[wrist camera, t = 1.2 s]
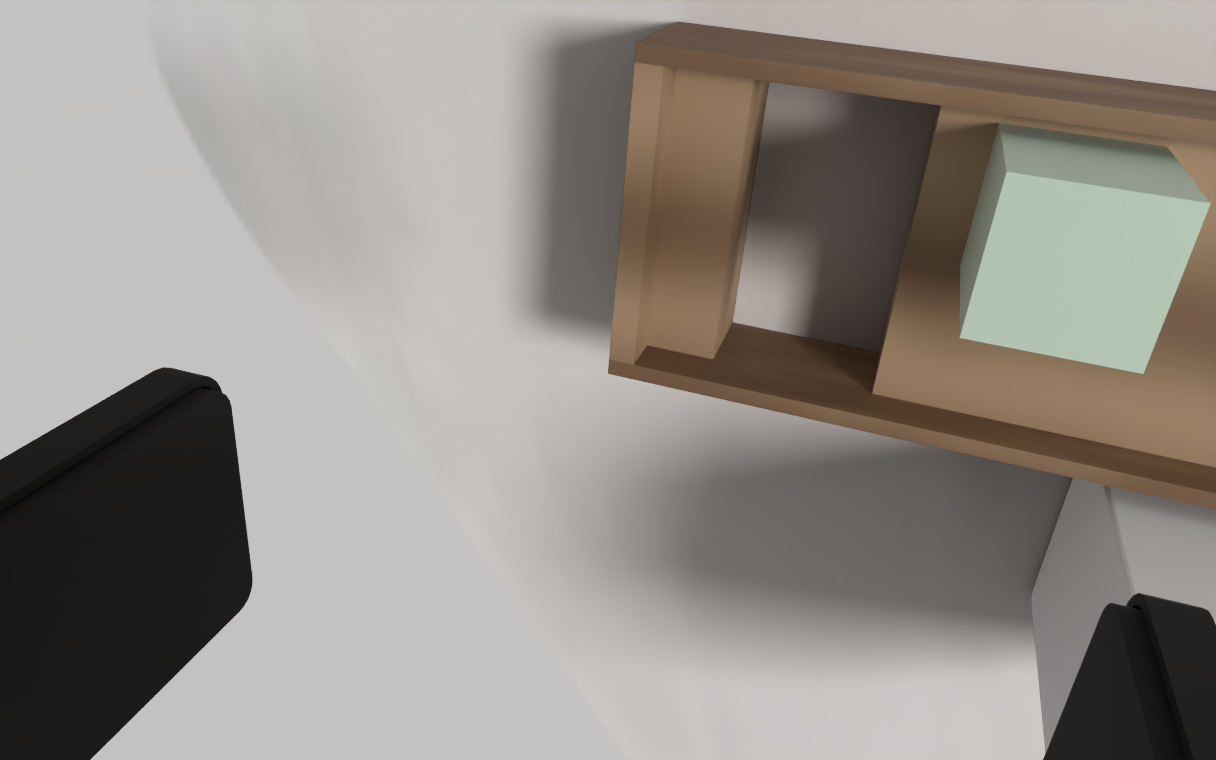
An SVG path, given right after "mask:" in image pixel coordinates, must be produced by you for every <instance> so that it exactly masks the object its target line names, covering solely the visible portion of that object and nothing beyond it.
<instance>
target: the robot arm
mask: <svg viewBox="0 0 1216 760" xmlns="http://www.w3.org/2000/svg"><path fill="white" fill-rule="evenodd" d="M251 587H252V570H251V563H250V554H249V546H248V538H247V530H246V522H245V513H244V506H243V498H242V489H241V481H240V473H239V465H238V457H237V448H236V440H235V432H234V424H233V416H232V408H231V404H230V400H229V399H228V397H227V396H226V395H225V394H223V393H222V391H221V388H220V386H219V385H218V383H217V382H216V381H215V380H213V379H212V378H210V377H208V376H203V375H199V374H194V373H190V372H186V371H182V370H177V369H173V368H161V369H157V370H155V371H153V372H151V373H149V374H148V375H146V376H144V377H143V378H141V379H139V380H137V381H136V382H134V383H132V384H130V385H129V386H127V387H125V388H124V389H122V390H120V391H118V392H117V393H115V394H113V395H111V396H110V397H108V398H106V399H105V400H103V401H101V402H99V403H98V404H96V405H94V406H93V407H91V408H89V409H87V410H86V411H84V412H82V413H80V414H79V415H77V416H75V417H74V418H72V419H70V420H68V421H67V422H65V423H63V424H61V425H60V426H58V427H56V428H55V429H53V430H51V431H49V432H48V433H46V434H44V435H42V436H41V437H39V438H38V439H35V440H34V441H32V442H31V443H29V444H27V445H25V446H23V447H22V448H20V449H18V450H16V451H15V452H13V453H12V454H10V455H8V456H6V457H4V458H3V459H1V460H0V760H90V759H91V758H92V757H93V756H94V755H95V754H96V753H97V752H98V751H99V750H100V749H101V748H102V747H103V746H104V745H105V744H106V743H107V742H108V741H110V739H112V738H113V737H114V736H115V734H117V732H119V731H120V730H121V728H123V727H124V726H125V725H126V724H127V723H128V722H129V721H130V720H131V719H132V718H133V717H134V716H135V715H136V714H137V713H138V712H139V711H140V710H141V709H142V708H143V707H144V706H145V705H146V704H147V703H148V702H149V701H150V700H151V699H152V698H153V697H154V696H155V695H156V694H157V693H158V692H159V691H160V690H161V689H162V688H163V687H164V686H165V685H166V684H167V683H168V682H169V681H170V680H171V679H172V678H173V677H174V676H175V675H176V674H177V673H178V672H179V671H180V670H181V669H182V668H183V667H184V666H185V665H186V664H187V663H188V662H189V661H190V660H191V659H192V658H193V657H194V656H195V655H196V654H197V653H198V652H199V651H200V650H201V649H202V648H203V647H204V646H205V645H206V644H207V643H208V642H209V641H210V640H211V639H212V638H213V637H214V636H215V635H216V634H217V633H218V632H219V631H220V630H221V629H222V628H223V627H224V626H225V625H226V624H227V623H228V622H229V621H230V620H231V619H232V618H233V617H234V616H235V615H236V614H237V613H239V611H240V610H241V609H242V608H243V606H244V605H245V603H246V602H247V600H248V598H249V595H250V592H251ZM1043 760H1216V624H1215V621H1214V619H1213V617H1212V615H1211V614H1210V612H1209V611H1208V610H1206V609H1204V608H1201V607H1197V606H1193V605H1189V604H1184V603H1180V602H1176V601H1171V600H1167V599H1163V598H1158V597H1154V596H1150V595H1146V594H1141V593H1137V594H1135V595H1133V596H1132V597H1131V599H1130V600H1129V601H1128V603H1127V605H1126V606H1123V605H1119V604H1114V603H1109V604H1107V606H1106V607H1105V608H1104V610H1103V612H1102V614H1101V616H1100V618H1099V621H1098V623H1097V626H1096V628H1095V631H1094V633H1093V636H1092V638H1091V641H1090V643H1089V646H1088V648H1087V651H1086V653H1085V656H1084V658H1083V661H1082V663H1081V666H1080V668H1079V671H1078V673H1077V676H1076V679H1075V681H1074V684H1073V686H1072V689H1071V691H1070V694H1069V696H1068V699H1067V701H1066V704H1065V706H1064V709H1063V711H1062V714H1061V716H1060V719H1059V721H1058V724H1057V726H1056V729H1055V731H1054V734H1053V736H1052V739H1051V741H1050V744H1049V746H1048V749H1047V751H1046V754H1045V756H1044V759H1043Z"/></svg>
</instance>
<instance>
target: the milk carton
mask: <svg viewBox="0 0 1216 760" xmlns="http://www.w3.org/2000/svg"><path fill="white" fill-rule="evenodd" d="M1137 593H1141V594H1146V595H1150V596H1154V597H1158V598H1163V599H1167V600H1171V601H1176V602H1180V603H1184V604H1189V605H1193V606H1197V607H1201V608H1204V609H1206V610H1208V611H1209V612H1210V614H1211V615H1212V617H1213V619H1214V621H1215V624H1216V510H1213V509H1209V508H1204V507H1200V506H1195V505H1191V504H1187V503H1182V502H1178V501H1173V500H1169V499H1164V498H1160V497H1155V496H1151V495H1147V494H1142V493H1138V492H1133V491H1129V490H1124V489H1120V488H1115V487H1111V486H1106V485H1102V484H1098V483H1093V482H1089V481H1084V480H1080V479H1075V478H1073V479H1072V482H1071V485H1070V488H1069V490H1068V493H1067V496H1066V499H1065V502H1064V504H1063V507H1062V510H1061V513H1060V515H1059V518H1058V521H1057V524H1056V527H1055V529H1054V532H1053V535H1052V538H1051V541H1050V543H1049V546H1048V549H1047V552H1046V555H1045V557H1044V560H1043V563H1042V566H1041V568H1040V571H1039V574H1038V577H1037V580H1036V583H1035V585H1034V588H1033V592H1032V596H1031V605H1032V616H1033V626H1034V637H1035V647H1036V658H1037V669H1038V679H1039V690H1040V700H1041V711H1042V721H1043V732H1044V742H1045V753H1046V751H1047V749H1048V746H1049V744H1050V741H1051V739H1052V736H1053V734H1054V731H1055V729H1056V726H1057V724H1058V721H1059V719H1060V716H1061V714H1062V711H1063V709H1064V706H1065V704H1066V701H1067V699H1068V696H1069V694H1070V691H1071V689H1072V686H1073V684H1074V681H1075V679H1076V676H1077V673H1078V671H1079V668H1080V666H1081V663H1082V661H1083V658H1084V656H1085V653H1086V651H1087V648H1088V646H1089V643H1090V641H1091V638H1092V636H1093V633H1094V631H1095V628H1096V626H1097V623H1098V621H1099V618H1100V616H1101V614H1102V612H1103V610H1104V608H1105V607H1106V606H1107V604H1109V603H1114V604H1119V605H1123V606H1126V605H1127V603H1128V601H1129V600H1130V599H1131V597H1132V596H1133V595H1135V594H1137Z"/></svg>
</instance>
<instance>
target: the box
mask: <svg viewBox="0 0 1216 760" xmlns="http://www.w3.org/2000/svg"><path fill="white" fill-rule="evenodd" d="M769 81H770V82H777V83H784V84H791V85H798V86H806V87H813V88H820V89H827V90H834V91H841V92H848V93H855V94H862V95H869V96H876V97H884V98H891V99H898V100H905V101H912V102H919V103H926V104H933V105H939V106H938V110H937V114H936V119H935V123H934V127H933V131H932V135H931V139H930V144H929V148H928V152H927V156H926V160H925V164H924V169H923V173H922V177H921V181H920V185H919V190H918V194H917V198H916V202H915V206H914V210H913V215H912V219H911V223H910V227H909V231H908V235H907V240H906V244H905V248H904V252H903V256H902V260H901V265H900V269H899V273H898V277H897V281H896V286H895V290H894V294H893V298H892V302H891V306H890V311H889V315H888V319H887V323H886V327H885V331H884V336H883V340H882V344H881V348H880V352H879V353H878V352H873V351H868V350H863V349H858V348H853V347H848V346H844V345H839V344H834V343H829V342H824V341H819V340H814V339H809V338H804V337H799V336H795V335H790V334H785V333H780V332H775V331H770V330H765V329H760V328H755V327H751V326H746V325H741V324H736V323H732V321H733V315H734V308H735V302H736V295H737V289H738V282H739V276H740V269H741V262H742V256H743V249H744V243H745V236H746V230H747V223H748V217H749V210H750V204H751V197H752V191H753V184H754V177H755V171H756V164H757V158H758V151H759V145H760V138H761V132H762V125H763V119H764V112H765V106H766V99H767V92H768V86H769ZM999 122H1000V123H1007V124H1014V125H1021V126H1028V127H1035V128H1042V129H1049V130H1056V131H1063V132H1070V133H1077V134H1084V135H1091V136H1098V137H1105V138H1112V139H1119V140H1126V141H1133V142H1140V143H1147V144H1154V145H1161V146H1167V147H1168V148H1169V150H1170V151H1171V152H1172V154H1173V155H1174V156H1175V157H1176V159H1177V160H1178V161H1179V163H1180V164H1181V165H1182V167H1183V168H1184V169H1185V170H1186V172H1187V173H1188V174H1189V176H1190V177H1191V178H1192V180H1193V181H1194V182H1195V183H1196V185H1197V186H1198V187H1199V189H1200V190H1201V191H1202V193H1203V194H1204V195H1205V196H1206V198H1207V199H1208V200H1209V202H1210V203H1211V204H1210V207H1209V209H1208V212H1207V214H1206V217H1205V219H1204V222H1203V224H1202V227H1201V229H1200V232H1199V234H1198V237H1197V240H1196V242H1195V245H1194V247H1193V250H1192V252H1191V255H1190V257H1189V260H1188V262H1187V265H1186V267H1185V270H1184V272H1183V275H1182V278H1181V280H1180V283H1179V285H1178V288H1177V290H1176V293H1175V295H1174V298H1173V300H1172V303H1171V305H1170V308H1169V310H1168V313H1167V315H1166V318H1165V321H1164V323H1163V326H1162V328H1161V331H1160V333H1159V336H1158V338H1157V341H1156V343H1155V346H1154V348H1153V351H1152V353H1151V356H1150V359H1149V361H1148V364H1147V366H1146V369H1145V371H1144V374H1141V373H1135V372H1130V371H1125V370H1120V369H1115V368H1110V367H1105V366H1100V365H1095V364H1090V363H1085V362H1080V361H1074V360H1069V359H1064V358H1059V357H1054V356H1049V355H1044V354H1039V353H1034V352H1029V351H1024V350H1019V349H1014V348H1008V347H1003V346H998V345H993V344H988V343H983V342H978V341H973V340H968V339H963V338H960V265H961V261H962V257H963V254H964V250H965V246H966V242H967V239H968V235H969V231H970V228H971V224H972V220H973V217H974V213H975V209H976V206H977V202H978V198H979V195H980V191H981V187H982V184H983V180H984V176H985V173H986V169H987V165H988V162H989V158H990V154H991V151H992V147H993V143H994V140H995V136H996V132H997V129H998V125H999ZM608 374H612V375H617V376H621V377H626V378H630V379H635V380H639V381H644V382H648V383H652V384H657V385H661V386H666V387H670V388H675V389H679V390H684V391H688V392H692V393H697V394H701V395H706V396H710V397H715V398H719V399H724V400H728V401H733V402H737V403H741V404H746V405H750V406H755V407H759V408H764V409H768V410H773V411H777V412H782V413H786V414H790V415H795V416H799V417H804V418H808V419H813V420H817V421H822V422H826V423H830V424H835V425H839V426H844V427H848V428H853V429H857V430H862V431H866V432H871V433H875V434H879V435H884V436H888V437H893V438H897V439H902V440H906V441H911V442H915V443H919V444H924V445H928V446H933V447H937V448H942V449H946V450H951V451H955V452H960V453H964V454H968V455H973V456H977V457H982V458H986V459H991V460H995V461H1000V462H1004V463H1009V464H1013V465H1017V466H1022V467H1026V468H1031V469H1035V470H1040V471H1044V472H1049V473H1053V474H1057V475H1062V476H1066V477H1071V478H1075V479H1080V480H1084V481H1089V482H1093V483H1098V484H1102V485H1106V486H1111V487H1115V488H1120V489H1124V490H1129V491H1133V492H1138V493H1142V494H1147V495H1151V496H1155V497H1160V498H1164V499H1169V500H1173V501H1178V502H1182V503H1187V504H1191V505H1195V506H1200V507H1204V508H1209V509H1213V510H1216V91H1211V90H1204V89H1196V88H1188V87H1180V86H1173V85H1165V84H1157V83H1149V82H1142V81H1134V80H1126V79H1118V78H1111V77H1103V76H1095V75H1087V74H1080V73H1072V72H1064V71H1056V70H1048V69H1041V68H1033V67H1025V66H1017V65H1010V64H1002V63H994V62H986V61H979V60H971V59H963V58H955V57H948V56H940V55H932V54H924V53H917V52H909V51H901V50H893V49H886V48H878V47H870V46H862V45H855V44H847V43H839V42H831V41H824V40H816V39H808V38H800V37H792V36H785V35H777V34H769V33H761V32H754V31H746V30H738V29H730V28H723V27H715V26H707V25H699V24H692V23H684V22H678V23H676V24H674V25H672V26H670V27H668V28H665V29H663V30H661V31H659V32H657V33H655V34H653V35H651V36H649V37H647V38H645V39H643V40H641V41H639V42H637V43H636V53H635V65H634V76H633V88H632V100H631V111H630V123H629V135H628V146H627V158H626V170H625V181H624V193H623V205H622V217H621V228H620V240H619V252H618V263H617V275H616V287H615V298H614V310H613V322H612V333H611V345H610V357H609V368H608Z"/></svg>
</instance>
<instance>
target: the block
mask: <svg viewBox="0 0 1216 760" xmlns="http://www.w3.org/2000/svg"><path fill="white" fill-rule="evenodd" d="M1210 204H1211V203H1210V202H1209V200H1208V199H1207V198H1206V196H1205V195H1204V194H1203V193H1202V191H1201V190H1200V189H1199V187H1198V186H1197V185H1196V183H1195V182H1194V181H1193V180H1192V178H1191V177H1190V176H1189V174H1188V173H1187V172H1186V170H1185V169H1184V168H1183V167H1182V165H1181V164H1180V163H1179V161H1178V160H1177V159H1176V157H1175V156H1174V155H1173V154H1172V152H1171V151H1170V150H1169V148H1168V147H1167V146H1161V145H1154V144H1147V143H1140V142H1133V141H1126V140H1119V139H1112V138H1105V137H1098V136H1091V135H1084V134H1077V133H1070V132H1063V131H1056V130H1049V129H1042V128H1035V127H1028V126H1021V125H1014V124H1007V123H1000V122H999V125H998V129H997V132H996V136H995V140H994V143H993V147H992V151H991V154H990V158H989V162H988V165H987V169H986V173H985V176H984V180H983V184H982V187H981V191H980V195H979V198H978V202H977V206H976V209H975V213H974V217H973V220H972V224H971V228H970V231H969V235H968V239H967V242H966V246H965V250H964V254H963V257H962V261H961V265H960V338H963V339H968V340H973V341H978V342H983V343H988V344H993V345H998V346H1003V347H1008V348H1014V349H1019V350H1024V351H1029V352H1034V353H1039V354H1044V355H1049V356H1054V357H1059V358H1064V359H1069V360H1074V361H1080V362H1085V363H1090V364H1095V365H1100V366H1105V367H1110V368H1115V369H1120V370H1125V371H1130V372H1135V373H1141V374H1144V371H1145V369H1146V366H1147V364H1148V361H1149V359H1150V356H1151V353H1152V351H1153V348H1154V346H1155V343H1156V341H1157V338H1158V336H1159V333H1160V331H1161V328H1162V326H1163V323H1164V321H1165V318H1166V315H1167V313H1168V310H1169V308H1170V305H1171V303H1172V300H1173V298H1174V295H1175V293H1176V290H1177V288H1178V285H1179V283H1180V280H1181V278H1182V275H1183V272H1184V270H1185V267H1186V265H1187V262H1188V260H1189V257H1190V255H1191V252H1192V250H1193V247H1194V245H1195V242H1196V240H1197V237H1198V234H1199V232H1200V229H1201V227H1202V224H1203V222H1204V219H1205V217H1206V214H1207V212H1208V209H1209V207H1210Z"/></svg>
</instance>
